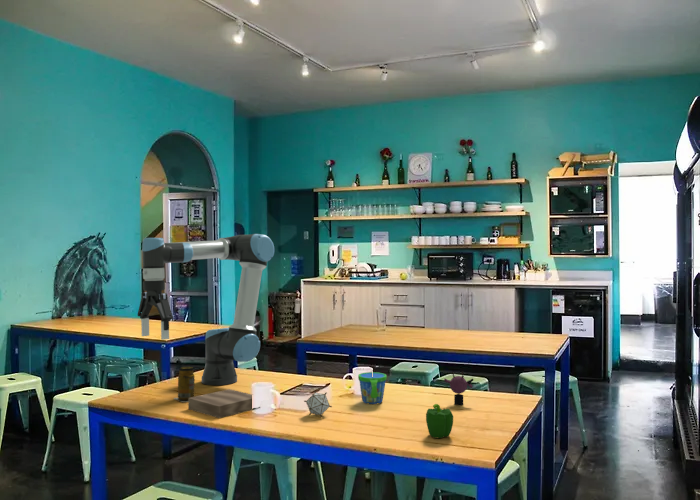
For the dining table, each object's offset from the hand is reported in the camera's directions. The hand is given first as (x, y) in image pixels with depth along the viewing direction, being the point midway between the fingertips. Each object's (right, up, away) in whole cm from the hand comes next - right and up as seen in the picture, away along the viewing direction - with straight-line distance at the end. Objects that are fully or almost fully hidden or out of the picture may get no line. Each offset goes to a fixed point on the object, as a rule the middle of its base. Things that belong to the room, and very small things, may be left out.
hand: (155, 337), depth 218 cm
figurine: (+111, -24, -1) cm, 114 cm away
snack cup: (+80, -25, +2) cm, 84 cm away
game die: (+61, -25, -15) cm, 67 cm away
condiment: (+9, -25, +8) cm, 28 cm away
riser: (+27, -25, -6) cm, 37 cm away
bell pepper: (+98, -24, -39) cm, 109 cm away
